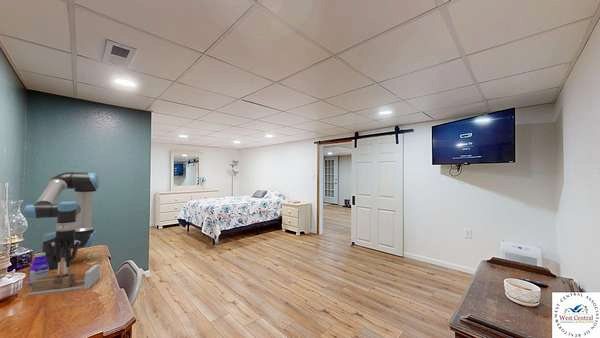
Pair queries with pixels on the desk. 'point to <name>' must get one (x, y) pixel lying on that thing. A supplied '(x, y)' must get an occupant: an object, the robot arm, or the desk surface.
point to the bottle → (38, 267)
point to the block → (53, 282)
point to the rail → (90, 279)
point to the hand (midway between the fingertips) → (62, 273)
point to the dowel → (62, 267)
